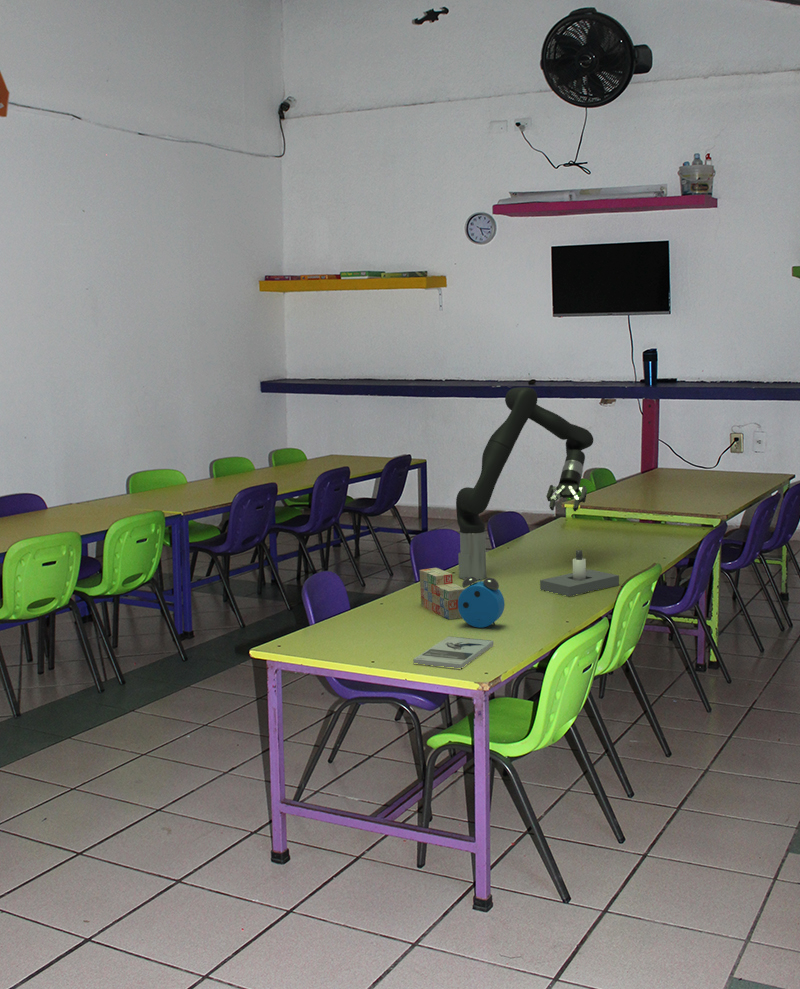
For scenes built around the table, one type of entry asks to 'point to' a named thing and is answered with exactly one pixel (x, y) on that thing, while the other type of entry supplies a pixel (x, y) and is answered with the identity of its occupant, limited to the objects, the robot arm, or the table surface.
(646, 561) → the table surface
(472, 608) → the alarm clock
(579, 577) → the plug
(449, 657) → the book
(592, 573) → the socket plate
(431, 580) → the stack of blocks
